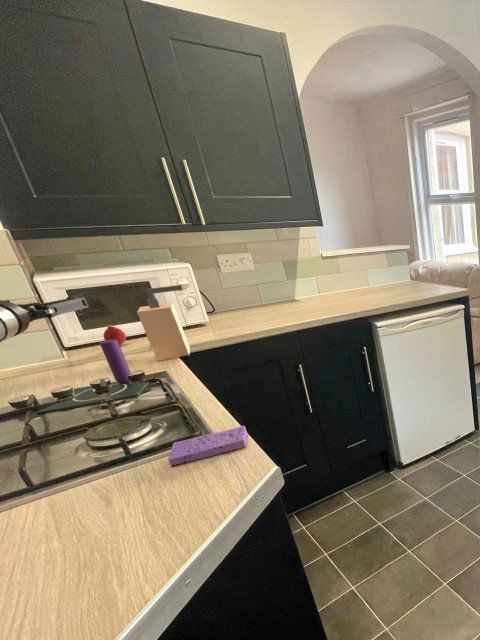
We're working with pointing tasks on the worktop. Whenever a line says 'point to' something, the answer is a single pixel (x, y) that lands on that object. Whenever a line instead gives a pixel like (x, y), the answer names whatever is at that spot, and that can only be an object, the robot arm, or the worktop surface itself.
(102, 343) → the cylinder
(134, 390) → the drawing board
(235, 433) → the sponge
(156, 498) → the worktop surface
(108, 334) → the red rounded lump
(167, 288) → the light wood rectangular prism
